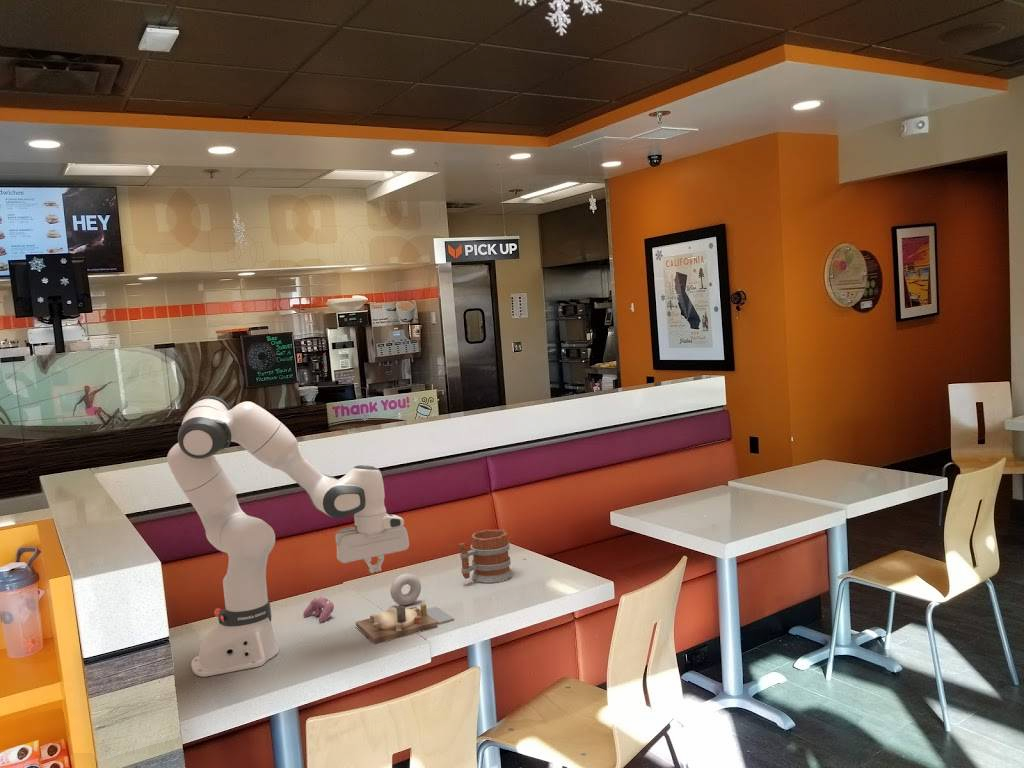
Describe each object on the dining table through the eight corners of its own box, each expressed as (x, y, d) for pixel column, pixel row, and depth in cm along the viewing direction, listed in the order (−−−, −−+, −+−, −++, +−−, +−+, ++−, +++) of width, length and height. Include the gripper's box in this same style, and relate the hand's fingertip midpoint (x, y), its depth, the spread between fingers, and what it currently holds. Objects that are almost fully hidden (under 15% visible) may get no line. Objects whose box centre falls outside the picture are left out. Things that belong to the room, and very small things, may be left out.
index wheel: (379, 636, 223) (378, 616, 222) (361, 620, 236) (360, 601, 236) (431, 622, 230) (429, 603, 230) (410, 608, 244) (409, 590, 243)
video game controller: (331, 625, 243) (338, 601, 245) (319, 622, 240) (326, 599, 242) (313, 618, 250) (319, 596, 252) (301, 616, 247) (308, 593, 249)
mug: (521, 575, 272) (518, 532, 271) (476, 590, 260) (472, 545, 259) (495, 568, 283) (492, 526, 282) (451, 582, 271) (447, 538, 270)
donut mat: (438, 624, 233) (438, 622, 233) (421, 612, 244) (421, 610, 244) (454, 620, 235) (454, 618, 235) (436, 608, 247) (436, 606, 246)
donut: (394, 610, 248) (391, 578, 247) (390, 607, 251) (387, 575, 250) (424, 602, 252) (421, 571, 252) (419, 599, 255) (417, 569, 255)
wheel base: (374, 643, 222) (373, 628, 221) (356, 626, 236) (354, 611, 235) (437, 627, 231) (436, 611, 231) (416, 611, 245) (415, 597, 245)
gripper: (337, 532, 216) (342, 582, 217) (409, 518, 225) (413, 566, 227) (331, 527, 221) (335, 577, 222) (400, 514, 231) (404, 561, 232)
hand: (375, 571), depth 224 cm, fingers closed
